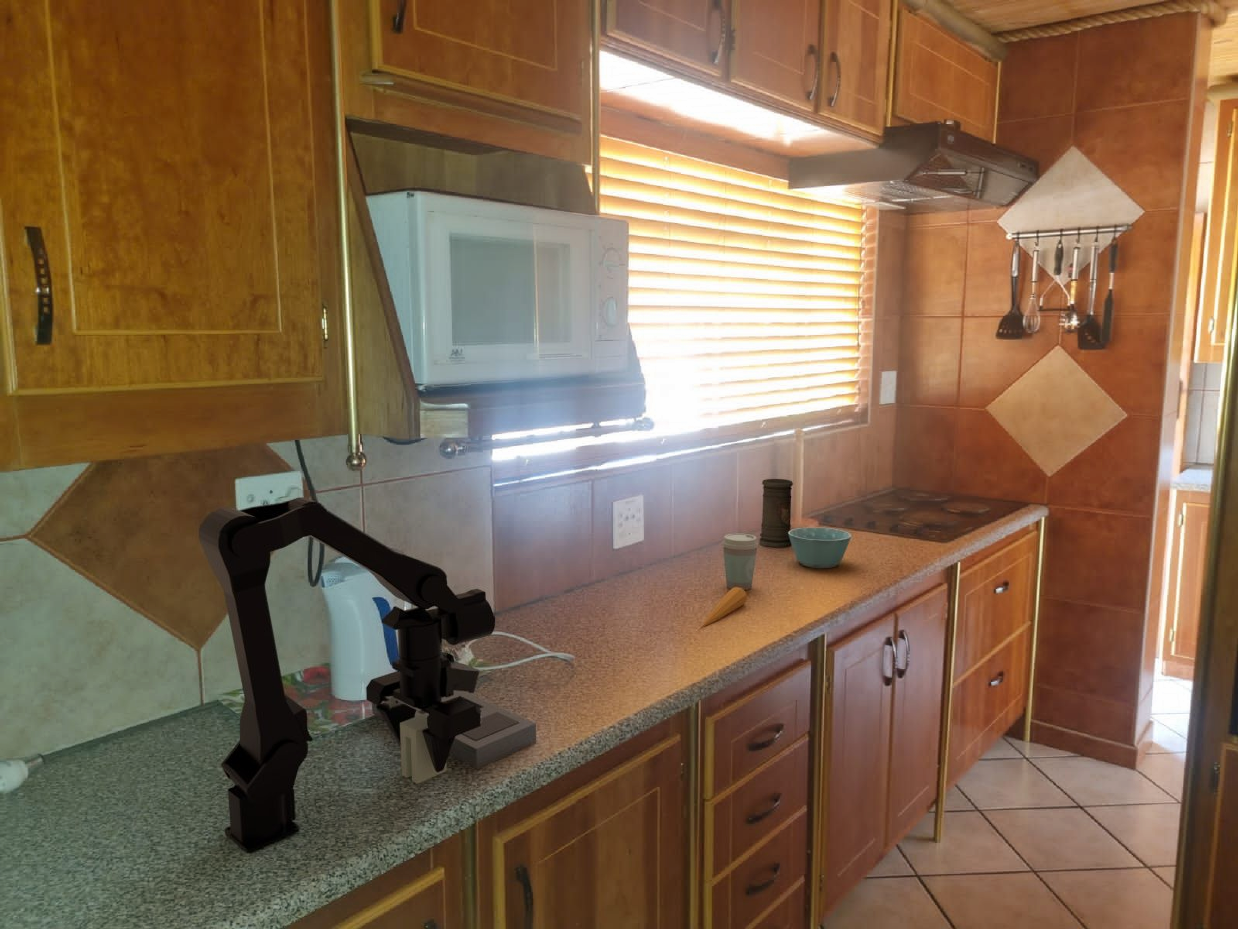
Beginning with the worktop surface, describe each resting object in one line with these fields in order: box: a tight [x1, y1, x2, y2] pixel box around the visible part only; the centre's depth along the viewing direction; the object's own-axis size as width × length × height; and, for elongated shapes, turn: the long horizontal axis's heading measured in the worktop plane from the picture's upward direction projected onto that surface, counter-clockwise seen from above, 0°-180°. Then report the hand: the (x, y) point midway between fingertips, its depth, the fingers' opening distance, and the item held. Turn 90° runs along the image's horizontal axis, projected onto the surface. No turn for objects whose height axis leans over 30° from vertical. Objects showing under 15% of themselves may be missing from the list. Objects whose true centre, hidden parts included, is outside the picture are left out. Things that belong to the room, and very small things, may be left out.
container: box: [758, 478, 794, 548], centre depth 252 cm, size 9×9×18 cm
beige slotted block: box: [400, 713, 448, 785], centre depth 123 cm, size 5×4×8 cm
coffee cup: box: [721, 533, 759, 591], centre depth 211 cm, size 8×8×12 cm
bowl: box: [788, 526, 852, 569], centre depth 232 cm, size 16×16×8 cm
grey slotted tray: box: [371, 690, 537, 770], centre depth 137 cm, size 11×26×3 cm, turn 48°
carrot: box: [700, 587, 747, 629], centre depth 191 cm, size 20×4×4 cm, turn 149°
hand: (423, 762), depth 123 cm, fingers open, 7 cm apart
